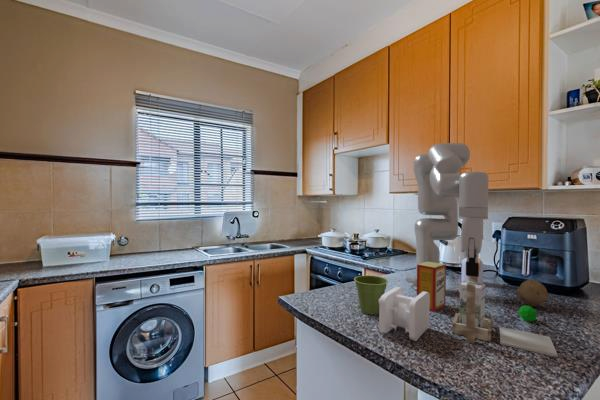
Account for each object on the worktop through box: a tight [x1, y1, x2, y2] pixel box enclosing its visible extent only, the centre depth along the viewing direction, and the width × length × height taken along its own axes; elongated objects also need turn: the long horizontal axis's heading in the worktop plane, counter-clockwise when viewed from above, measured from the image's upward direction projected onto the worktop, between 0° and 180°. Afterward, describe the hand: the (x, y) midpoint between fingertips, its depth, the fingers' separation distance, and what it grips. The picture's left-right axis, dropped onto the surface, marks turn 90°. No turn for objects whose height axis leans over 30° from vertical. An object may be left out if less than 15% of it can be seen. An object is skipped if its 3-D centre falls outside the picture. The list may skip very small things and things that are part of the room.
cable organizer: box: [378, 286, 430, 342], centre depth 89 cm, size 15×11×12 cm
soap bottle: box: [460, 257, 484, 284], centre depth 143 cm, size 9×9×25 cm
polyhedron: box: [518, 304, 538, 323], centre depth 98 cm, size 5×5×5 cm
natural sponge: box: [516, 279, 549, 307], centre depth 112 cm, size 9×9×10 cm
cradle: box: [452, 277, 492, 345], centre depth 89 cm, size 10×18×16 cm, turn 147°
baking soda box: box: [416, 262, 447, 313], centre depth 110 cm, size 10×6×16 cm
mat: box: [499, 326, 558, 358], centre depth 83 cm, size 12×12×1 cm
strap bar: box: [468, 257, 481, 278], centre depth 97 cm, size 3×18×3 cm, turn 147°
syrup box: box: [459, 281, 486, 329], centre depth 89 cm, size 6×6×14 cm
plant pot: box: [353, 274, 389, 315], centre depth 105 cm, size 12×12×11 cm
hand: (472, 275), depth 88 cm, fingers closed
